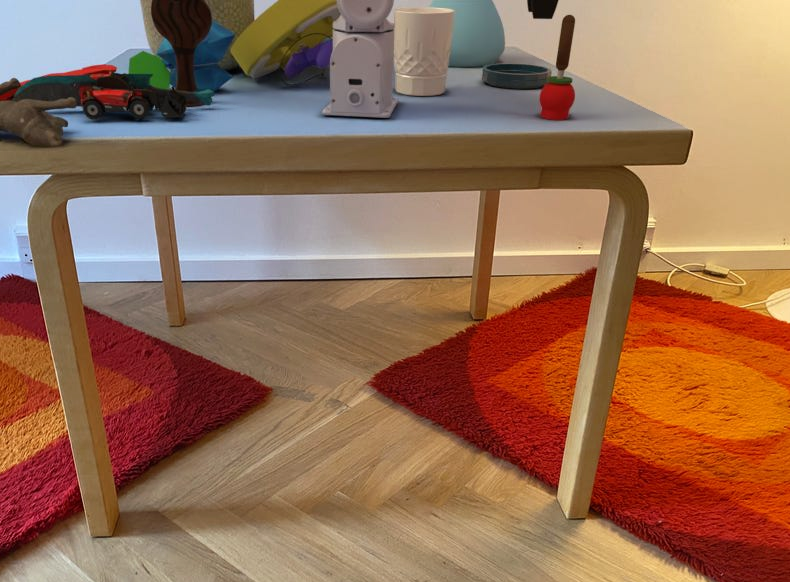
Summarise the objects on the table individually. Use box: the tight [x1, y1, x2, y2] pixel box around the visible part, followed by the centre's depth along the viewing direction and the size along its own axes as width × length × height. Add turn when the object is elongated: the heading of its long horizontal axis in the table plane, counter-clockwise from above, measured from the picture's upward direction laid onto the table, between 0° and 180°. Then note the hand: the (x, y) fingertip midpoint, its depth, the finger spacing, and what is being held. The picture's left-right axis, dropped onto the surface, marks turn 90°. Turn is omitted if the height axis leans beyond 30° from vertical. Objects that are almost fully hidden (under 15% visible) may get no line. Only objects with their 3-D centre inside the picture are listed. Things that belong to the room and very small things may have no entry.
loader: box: [73, 72, 187, 121], centre depth 80 cm, size 12×5×5 cm, turn 94°
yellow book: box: [231, 0, 341, 79], centre depth 100 cm, size 16×21×5 cm
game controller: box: [279, 33, 333, 87], centre depth 97 cm, size 10×8×10 cm
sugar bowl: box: [428, 0, 506, 68], centre depth 115 cm, size 15×15×12 cm
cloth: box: [0, 63, 118, 102], centre depth 92 cm, size 26×14×2 cm, turn 175°
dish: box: [481, 62, 553, 90], centre depth 101 cm, size 10×10×2 cm
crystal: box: [156, 20, 236, 92], centre depth 93 cm, size 7×9×12 cm
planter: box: [139, 0, 256, 72], centre depth 105 cm, size 17×17×15 cm
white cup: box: [393, 6, 455, 97], centre depth 93 cm, size 8×8×10 cm
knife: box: [12, 74, 215, 107], centre depth 83 cm, size 24×1×5 cm, turn 97°
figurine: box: [151, 0, 212, 108], centre depth 84 cm, size 7×5×18 cm
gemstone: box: [127, 50, 171, 89], centre depth 92 cm, size 6×6×6 cm
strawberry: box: [539, 14, 576, 121], centre depth 80 cm, size 4×4×11 cm
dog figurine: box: [0, 77, 78, 148], centre depth 72 cm, size 12×6×7 cm
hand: (539, 15), depth 81 cm, fingers open, 7 cm apart
